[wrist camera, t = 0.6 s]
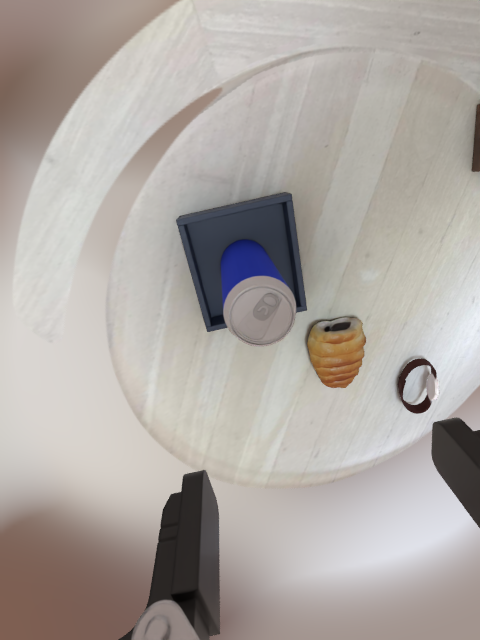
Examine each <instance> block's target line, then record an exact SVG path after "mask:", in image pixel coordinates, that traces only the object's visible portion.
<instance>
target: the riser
mask: <svg viewBox="0 0 480 640" xmlns="http://www.w3.org/2000/svg"><path fill="white" fill-rule="evenodd" d="M472 171H473V172H480V104H479V105H477V115H476V128H475V141H474V154H473V167H472Z"/></svg>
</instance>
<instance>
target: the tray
mask: <svg viewBox="0 0 480 640" xmlns="http://www.w3.org/2000/svg"><path fill="white" fill-rule="evenodd" d="M176 222H177V225H178V229H179V232H180V236H181V239H182V243H183V247H184V250H185V254H186V257H187V261H188V265H189V268H190V272H191V275H192V279H193V282H194V286H195V290H196V293H197V297H198V300H199V304H200V308H201V311H202V315H203V318H204V322H205V325H206V329H207V332H210V331H214V330H219V329H224V328H228V327H227V325H226V323H225V320H224V315H223V298H222V280H221V258H222V255H223V253H224V251H225V249H226V248H227V247H228V246H229V245H230V244H232V243H234V242H236V241H238V240H252V241H255V242H257V243H258V244H260V245H261V246H262V247H263V248H264V250H265V251H266V253H267V254H268V256H269V257H270V259H271V260H272V262H273V263H274V265H275V267H276V268H277V270H278V271H279V273H280V274H281V276H282V277H283V279H284V281H285V282H286V284H287V285H288V287H289V288H290V290H291V291H292V293H293V295H294V298H295V301H296V313H297V312H301V311H306V310H307V306H306V299H305V291H304V284H303V276H302V269H301V261H300V254H299V246H298V239H297V232H296V224H295V217H294V209H293V202H292V194H289V193H286V192H284V193H280V194H275V195H271V196H266V197H262V198H258V199H253V200H249V201H244V202H240V203H235V204H231V205H227V206H222V207H218V208H213V209H209V210H205V211H200V212H196V213H191V214H187V215H183V216H179V217H178V219H177V220H176Z"/></svg>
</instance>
